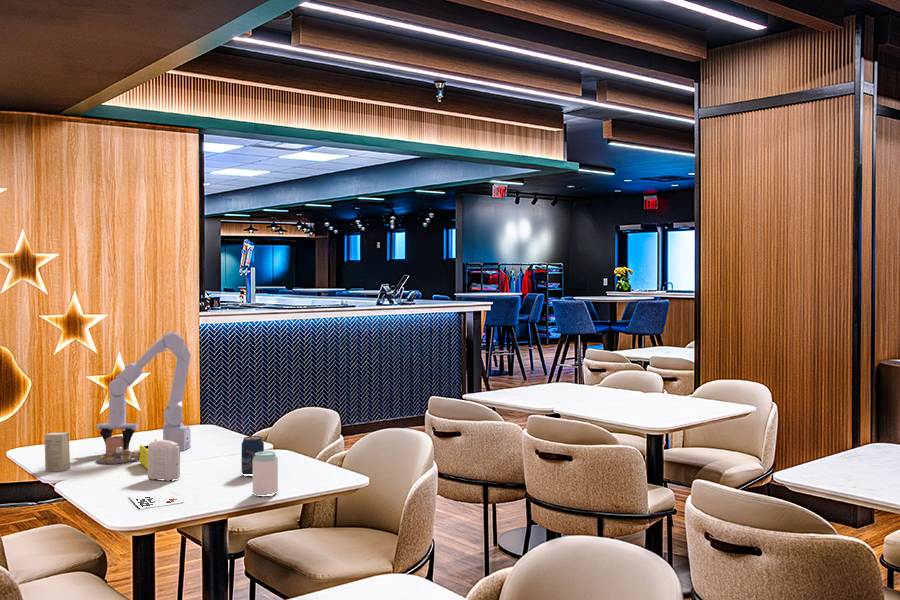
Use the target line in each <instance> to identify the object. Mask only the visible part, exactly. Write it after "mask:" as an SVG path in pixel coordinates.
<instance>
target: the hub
mask: <svg viewBox="0 0 900 600" xmlns="http://www.w3.org/2000/svg"><path fill="white" fill-rule="evenodd" d="M131 452H132V451H131V450H129V451H123V453H122V447H116V452H110V455H107V454H106V453H102V454H100V455H99V457H98V458H97V459H96V462H98V463H97V464H100V465H122V463H124V464H130V463H129V462H131V463H134V462H133V461H135V462H138V461H139V454H138V452H133V453H131ZM137 460H138V461H137Z"/></svg>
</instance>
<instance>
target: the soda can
mask: <svg viewBox="0 0 900 600" xmlns="http://www.w3.org/2000/svg"><path fill="white" fill-rule="evenodd" d="M264 444H265V442H264V440H263V437H262V436H259V435H256V436H255V435H254V436H253V435H249V436H245V437H243V440H242V442H241V474H242V473H243V474H253V458H254V456H255V453H257V452H263V451H265V447H264V446H265V445H264ZM243 474H242V475H243Z"/></svg>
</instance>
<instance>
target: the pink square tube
mask: <svg viewBox="0 0 900 600" xmlns="http://www.w3.org/2000/svg"><path fill="white" fill-rule="evenodd" d="M116 447H122V453H123V451H130V446H129V447H128V449H127V450H124V440H123V435H112V437H109V438H106V445H105V454H107V455H110V452H116Z"/></svg>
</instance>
